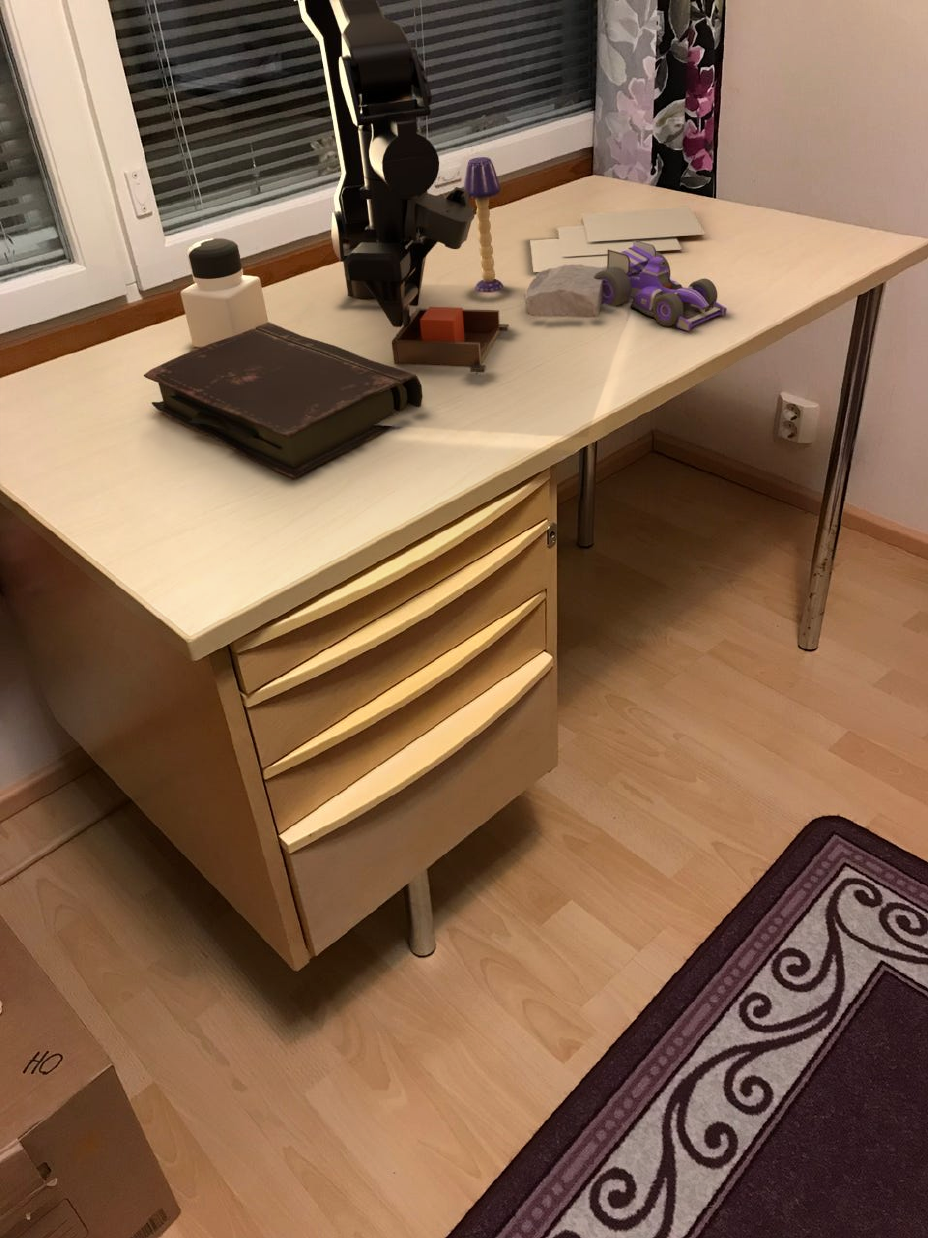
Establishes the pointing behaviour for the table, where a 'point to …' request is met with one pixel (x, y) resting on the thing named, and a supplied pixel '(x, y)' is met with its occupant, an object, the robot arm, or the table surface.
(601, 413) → the table surface
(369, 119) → the robot arm
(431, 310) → the cube
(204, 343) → the medicine bottle
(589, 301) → the stone block
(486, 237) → the toy lamp
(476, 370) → the hinge brackets
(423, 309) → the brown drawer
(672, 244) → the paper stack
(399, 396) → the diary
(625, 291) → the toy race car
